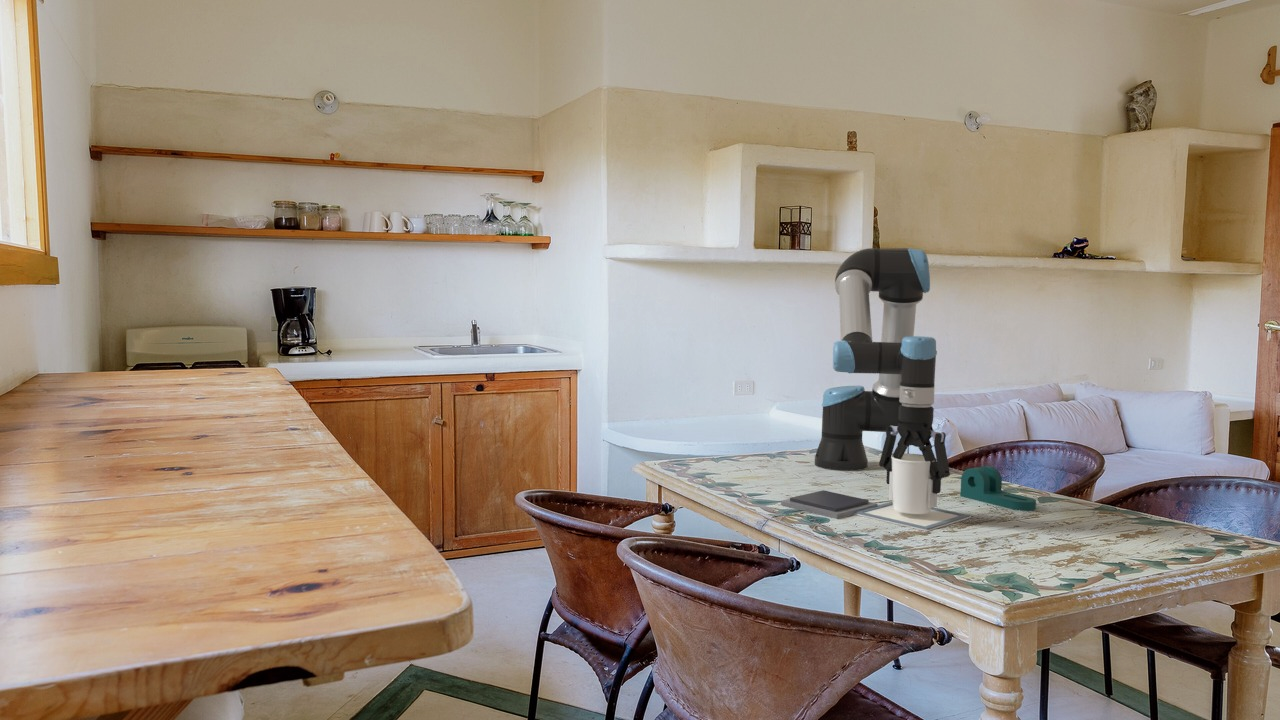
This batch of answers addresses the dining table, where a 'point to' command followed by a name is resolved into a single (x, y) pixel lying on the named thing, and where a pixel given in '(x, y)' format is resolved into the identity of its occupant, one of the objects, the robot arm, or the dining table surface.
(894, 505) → the candle holder
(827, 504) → the ink pad
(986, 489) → the bracket
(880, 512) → the marked square
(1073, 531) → the dining table surface
